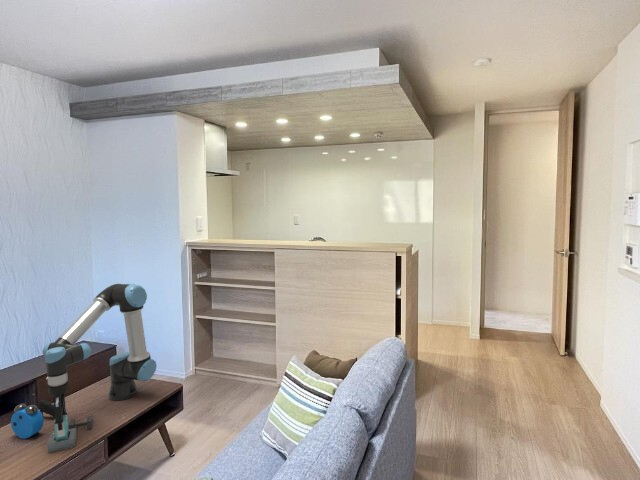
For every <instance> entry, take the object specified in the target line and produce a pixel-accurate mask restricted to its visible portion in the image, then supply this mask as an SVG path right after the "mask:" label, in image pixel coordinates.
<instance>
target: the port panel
mask: <svg viewBox="0 0 640 480" xmlns="http://www.w3.org/2000/svg"><path fill="white" fill-rule="evenodd" d="M68 433H69V436H68V438H64V439H59V440H56V438H55V431H54V432H51V433H50V435H49V438H48V441H47V445H46V446H47V453H48V454H49V453H54V452H59V451H63V450H67V449H72V447H73V448H75V447H76V446H75V445H76V443H77V438H78V430H77V427H75V428H73V429H69V428H68Z"/></svg>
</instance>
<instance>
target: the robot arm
mask: <svg viewBox="0 0 640 480" xmlns="http://www.w3.org/2000/svg"><path fill="white" fill-rule="evenodd" d="M147 296H148V295H147V291H146V289H145V288H144V287H143V286H141V285H138V284H135V283H131V284H129V283H128V284H127V283H114V284H111V285H109V286H108V287H106V288H104V289H103V290H101V292H99V293H98V294H97V295H96V296H95V297H94V298H93V302H92V303H91V304H90V305H89V306H88V307H87V308H86V309H85V310H84V311H83V312H82V313H81V314H80V315H79V316H78V317H77V318H76V319H75V320H74V322H72V323H71V324H70V325H69V327H68V328H67V329H66V330H65V331H64V332H63V333H62V334H61V335H60V336H59V337H58V338H57V339H56V340H55V341H54V342H53V341H51V342H49V343H47V344H45V345H44V346H43V349H42V355H43V357H44V358H45V367H46V368H45V369H46V377H45V380H47V385H48V386H47V391H48V394H49V395H51V396H53V399H52V401H53V402H52V403H53V405H54V412H55V418H54V420H55V423H54V422H53V424H57V436H58V437H62V436H65V429H64V421H63V415H67V416H68V412H67V410H66V392H68V390H69V382H68V381H69V378H68V367H69V366H71V365H75V364H77V363H80V362H82V361H84V360H86V359H89V358H90V356H91V355H92V349H91V346H90V345H89V344H88V343H87V342H86V343H85V342H83V343H79V344H77V345H76V343H77V342H78V341H79V340H81V338H82V337H83V336H84V335H85V334H86V333H87V332H88V331H89V329H90V328H92V326H93V325H94V324H95V323H97V320H99V319H100V318H101V316H103V314H104V313H106V312H108V311H109V310H111V308H113V307H115V306H117V307H118V306H119V312H120V313H121V314H122V315H123V317H124V325H125V332H126V337H127V346H128V351H127V352H121V353H119V354H115V355H113V356H111V357H110V358H109V373H110V386H109V389H108V393H107V395H108V399H109V400H110V401H115V402H116V401H124V400H127V399H130V398H132V397H134V396H137V395H138V392H139V388H138V385H137V383H136V381H138V382H147V381H149V380H150V379H152V378H153V376H154V375H155V373H156V370H157V362H156V360H155V359H151V358H152V357H151V352H149V351H147V350H148V349H147V344H146V343H147V342H146V337H145V328H144V323H143V317H142V310H143V309H144V306H145V304H146V303H147V299H148V297H147ZM65 412H66V413H65Z"/></svg>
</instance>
